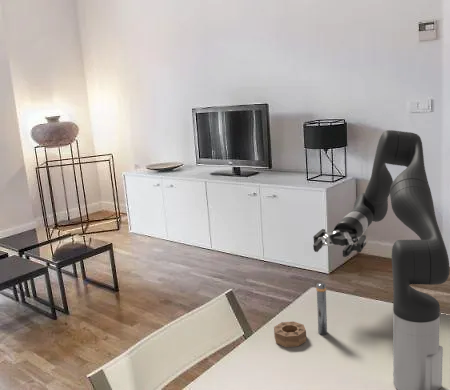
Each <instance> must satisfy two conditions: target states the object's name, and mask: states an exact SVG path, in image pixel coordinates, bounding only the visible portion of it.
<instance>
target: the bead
mask: <svg viewBox="0 0 450 390" xmlns="http://www.w3.org/2000/svg"><path fill="white" fill-rule="evenodd" d="M273 333H274V334H273V335H274V340H275V344H276V345H280V346H282V347H285V348H293V347H300V346H301V345H303V344H304V343H306V342H307V330H306V327H305V325H304V324H302V323H300V322H296V321H293V320H292V321H281V322H279V323H278V324H277V325H275V326H273Z"/></svg>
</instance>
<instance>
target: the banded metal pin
mask: <svg viewBox="0 0 450 390" xmlns="http://www.w3.org/2000/svg"><path fill="white" fill-rule="evenodd" d="M326 285H327V284H326V283H324V282H317V283H316V286H315V290H316V307H317V308H316V309H317V311H316V312H317V330H318V331H317V332H318V333H317V334H319V335H323V336H325V335H327V334H328V319H327V318H328V315H327V286H326Z"/></svg>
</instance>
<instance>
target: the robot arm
mask: <svg viewBox="0 0 450 390" xmlns="http://www.w3.org/2000/svg"><path fill="white" fill-rule="evenodd" d="M424 157H425V156H424V148H423V142H422V139H421V136H420V135H419V134H418V133H415V132H408V131H401V130H390V129H389V130H387V129H386V130H385V131H383V132H382V134H381V135H380V137H379V139H378V143H377V147H376V149H375V155H374V159H373V165H372V170H371V174H370V175H371V176H370V179H369V181H368V184H367V186H366V189H365V191H364V192H362V193H360V194H359V195H358V196H357V197H356V198H355V201H354V204H353V208H352V210H350V212H349V213H348V214H346V215H345V216H344V217H343V218H342V219H341V220H340V221H339V222H338V223H337V224H335V226H334V229H333V230H331V231H329V232H328V231H326V229H325V228H322V229H321V230H319V231H318V232H317V233H316V234H314V235H313V237H312V238H313V244H312V245H313V246H312V247H313V250H314V251H313V252H316V253H318V252H319V251H320V250H321V249H322V248H323V247H324V246H327V247H330V246H334V245H336V246H340V247H341V246H343V247H344V246H345V247H344V248H343V249H342V257H343V258H347V257H348V256H350V254H352V253H354V252H355V251H356V252H358V253H361V252H362V251H363V249H364V248H365V246H366V245H367V236H366V235H364V233H365V232H366V230H367V228H369V226H370V225H371V224H372V223H374V222H375V223H376V222H377V223H378V222H381V221H383V220H384V219H385V217H386V215H387V214H388V211H389V210H388V208H389V200H388V199H389V197H390V203H391V204H390V205H391V209H392V212H393V214H394V215H395V216H396V218H397V219H398V220H399V221H400V222H401V223H402V224H404V226H406V227H407V228H408V229H410V230H411V231H412V232H414V233H415V234H416V235H417V236H418V237H419V239H397V240H395V242H394V243H393V245H392V249H391V267H392V268H391V270H392V283H393V284H392V286H393V289H392V290H393V291H392V292H393V293H392V295H393V296H392V297H393V300H392V301H393V302H392V303H393V305H392V306H393V307H392V311H393V312H392V318H393V319H392V320H393V321H392V323H393V324H392V325H393V326H392V327H393V328H392V331H393V332H392V336H393V338H392V340H393V342H392V343H393V344H392V346H393V347H392V348H393V350H392V351H393V352H392V355H393V356H392V357H393V358H392V359H393V361H392V362H393V363H392V364H393V371H392V374H393V375H392V376H393V379H392V380H393V382H392V383H393V386H394V387H395V389H397V390H440V389H441V388H442V387H443V356H444V355H443V351H444V350H443V349H444V348H443V346H442V345H440V320H441V319H440V318H441V317H440V314H441V313H440V311H441V307H440V303H439V301H438V300H437V298H435V297H433V296H432V295H430V294H428V293H425V292H424V291H423V292H422V291H419V290H417V289H415V288H414V287H413V286H411V285H426V286H427V285H442V284H444V283H446V282H447V281H448V279H449V276H450V258H449V255H448V250H447V247H446V245H445V241H444V238H443V236H442V233H441V229H440V227H439V225H438V221H437V216H436V212H435V207H434V202H433V201H434V200H433V196H432V195H433V194H432V192H431V187H430V185H429V181H428V176H427V172H426V167H425V160H424V159H425V158H424ZM386 164H387V165H391V166H392V165H393V166H401V167H406V168H405V169H404V170H403V171H401V173H399V174H398V175H397V176H396V177H395V178H394V179H393V177H392V175H391V172H390V171H389V170H388V166H387V165H386Z"/></svg>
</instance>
